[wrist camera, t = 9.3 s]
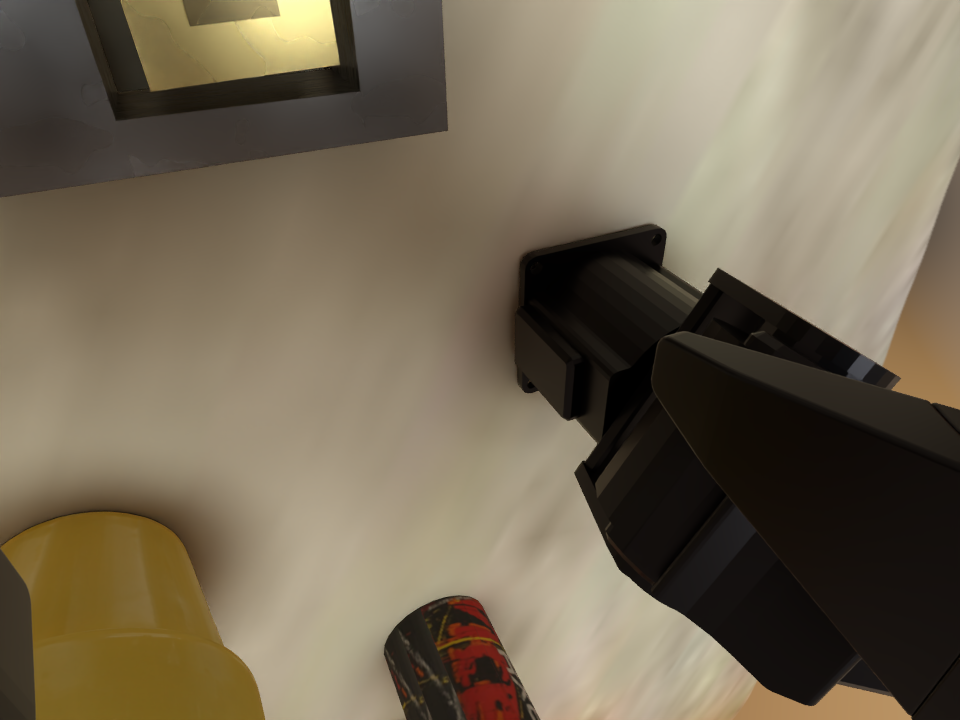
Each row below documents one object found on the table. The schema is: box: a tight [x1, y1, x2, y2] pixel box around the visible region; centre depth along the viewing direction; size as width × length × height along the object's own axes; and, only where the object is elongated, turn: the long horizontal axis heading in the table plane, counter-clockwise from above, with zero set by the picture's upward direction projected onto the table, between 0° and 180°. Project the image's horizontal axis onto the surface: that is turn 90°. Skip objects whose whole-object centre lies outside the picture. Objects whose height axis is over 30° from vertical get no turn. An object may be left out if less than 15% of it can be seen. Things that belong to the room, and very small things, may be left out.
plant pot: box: [0, 512, 265, 720], centre depth 20 cm, size 10×10×10 cm
